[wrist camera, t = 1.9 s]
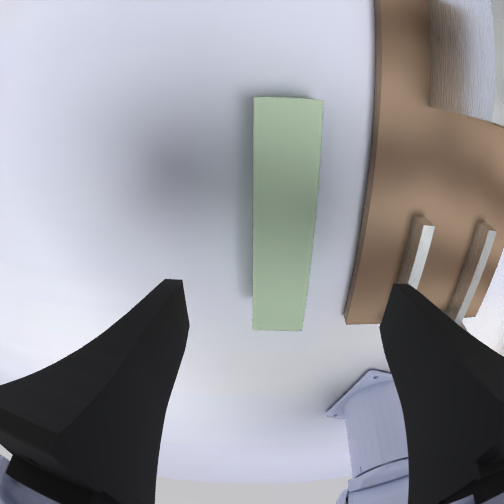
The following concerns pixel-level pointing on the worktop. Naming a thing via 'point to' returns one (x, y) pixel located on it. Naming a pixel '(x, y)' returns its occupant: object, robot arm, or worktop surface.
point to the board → (422, 174)
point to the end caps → (466, 103)
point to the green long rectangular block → (284, 207)
